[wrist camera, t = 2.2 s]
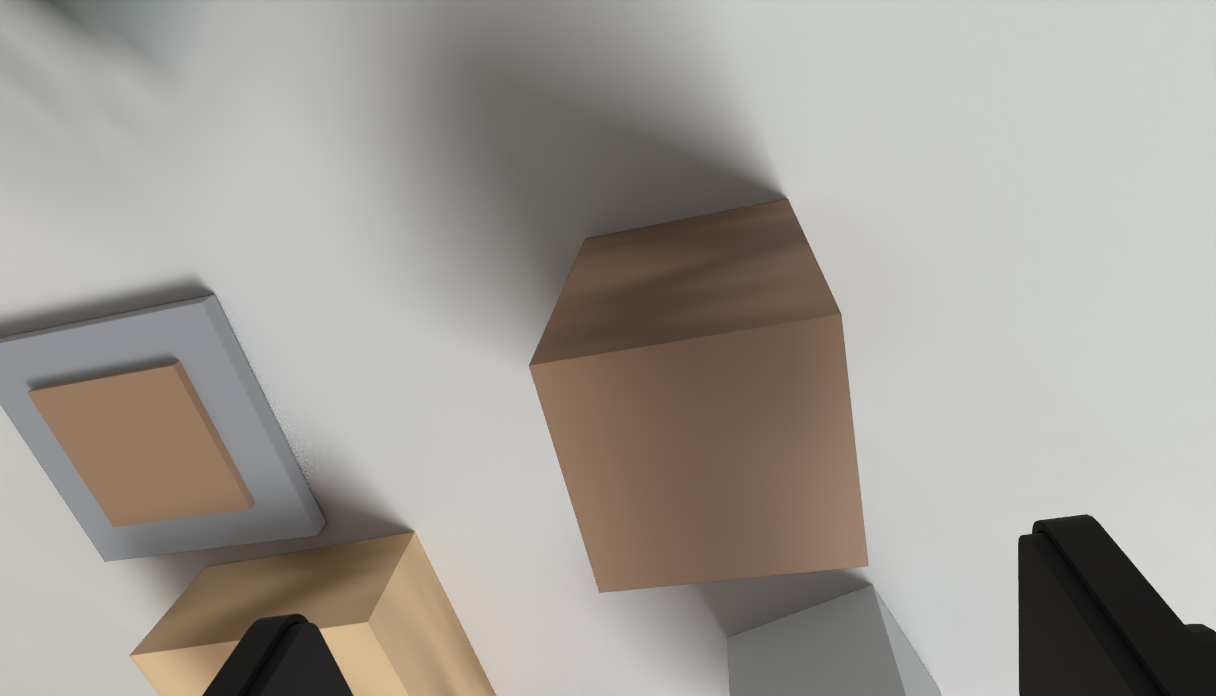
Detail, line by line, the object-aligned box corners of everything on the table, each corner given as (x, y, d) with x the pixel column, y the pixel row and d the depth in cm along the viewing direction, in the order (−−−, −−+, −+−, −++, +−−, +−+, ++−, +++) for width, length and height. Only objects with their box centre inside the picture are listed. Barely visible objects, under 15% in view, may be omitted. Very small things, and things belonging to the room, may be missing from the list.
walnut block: (787, 198, 17) (840, 314, 11) (811, 380, 19) (868, 565, 13) (585, 238, 18) (528, 365, 12) (628, 407, 20) (599, 592, 14)
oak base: (417, 525, 23) (367, 622, 20) (501, 696, 26) (471, 806, 23) (210, 561, 25) (129, 655, 21) (312, 717, 28) (256, 823, 25)
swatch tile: (214, 294, 20) (194, 307, 19) (326, 522, 23) (313, 541, 22) (-18, 341, 22) (-45, 354, 21) (117, 549, 25) (98, 568, 24)
